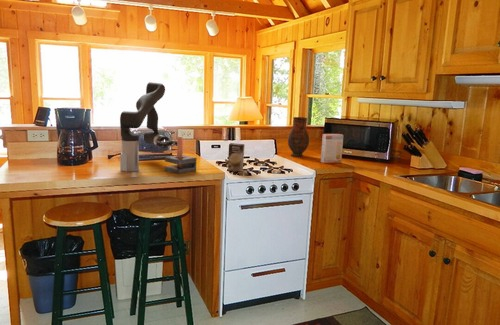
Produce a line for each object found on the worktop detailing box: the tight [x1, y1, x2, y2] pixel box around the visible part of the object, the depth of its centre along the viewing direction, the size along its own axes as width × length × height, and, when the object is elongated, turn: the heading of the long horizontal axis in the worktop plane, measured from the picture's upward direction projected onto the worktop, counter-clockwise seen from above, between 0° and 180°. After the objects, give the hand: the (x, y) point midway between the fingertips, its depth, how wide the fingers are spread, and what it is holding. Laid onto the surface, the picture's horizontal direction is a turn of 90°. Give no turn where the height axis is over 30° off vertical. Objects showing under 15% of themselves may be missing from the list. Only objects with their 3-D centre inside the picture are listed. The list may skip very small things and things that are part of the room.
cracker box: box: [320, 133, 344, 164], centre depth 269 cm, size 14×6×21 cm, turn 108°
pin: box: [176, 136, 184, 168], centre depth 216 cm, size 3×3×20 cm
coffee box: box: [227, 142, 245, 173], centre depth 228 cm, size 9×6×16 cm
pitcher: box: [287, 116, 310, 158], centre depth 291 cm, size 17×21×30 cm
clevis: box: [164, 154, 197, 175], centre depth 218 cm, size 14×12×8 cm
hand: (173, 145), depth 223 cm, fingers open, 8 cm apart
